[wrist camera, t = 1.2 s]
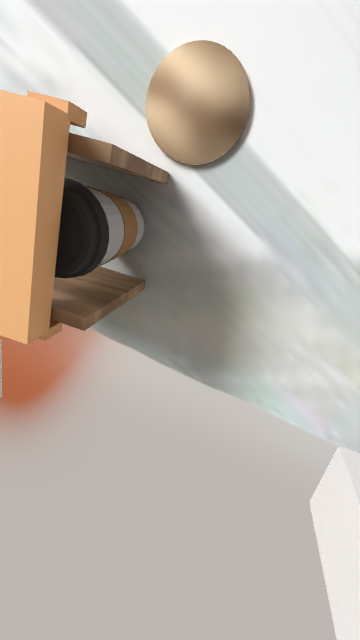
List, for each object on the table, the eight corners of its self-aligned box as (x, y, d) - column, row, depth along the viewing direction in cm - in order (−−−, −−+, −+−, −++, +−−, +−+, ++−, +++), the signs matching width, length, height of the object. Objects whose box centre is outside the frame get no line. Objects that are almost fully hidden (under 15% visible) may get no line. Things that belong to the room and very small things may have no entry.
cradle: (37, 137, 37) (-98, 88, 23) (168, 172, 35) (112, 144, 21) (29, 253, 42) (-85, 273, 28) (143, 289, 41) (84, 330, 26)
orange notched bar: (49, 103, 22) (0, 75, 18) (87, 112, 22) (45, 86, 18) (32, 320, 29) (-7, 340, 24) (61, 330, 29) (26, 352, 24)
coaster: (160, 33, 31) (158, 30, 31) (265, 55, 30) (265, 52, 29) (138, 151, 35) (137, 150, 35) (230, 176, 34) (230, 175, 33)
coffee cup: (96, 259, 41) (16, 283, 27) (86, 192, 38) (-8, 179, 24) (156, 257, 39) (104, 281, 25) (150, 186, 36) (88, 169, 22)
